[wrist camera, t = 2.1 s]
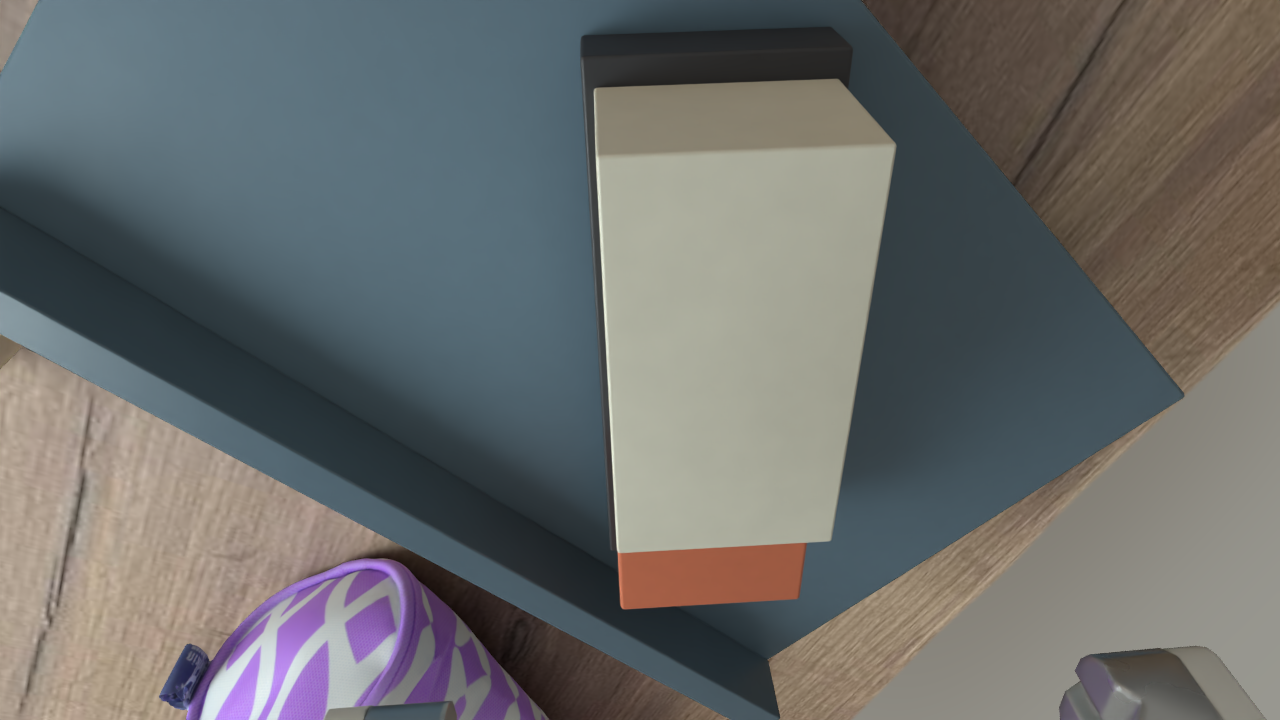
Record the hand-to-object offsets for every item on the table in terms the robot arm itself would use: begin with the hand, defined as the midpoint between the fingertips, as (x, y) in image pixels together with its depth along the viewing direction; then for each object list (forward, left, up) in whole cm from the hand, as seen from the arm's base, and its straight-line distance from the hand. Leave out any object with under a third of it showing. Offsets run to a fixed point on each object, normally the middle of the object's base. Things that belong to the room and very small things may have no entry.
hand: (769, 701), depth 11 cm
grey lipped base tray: (+1, -1, -15) cm, 15 cm away
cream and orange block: (0, 0, -9) cm, 9 cm away
